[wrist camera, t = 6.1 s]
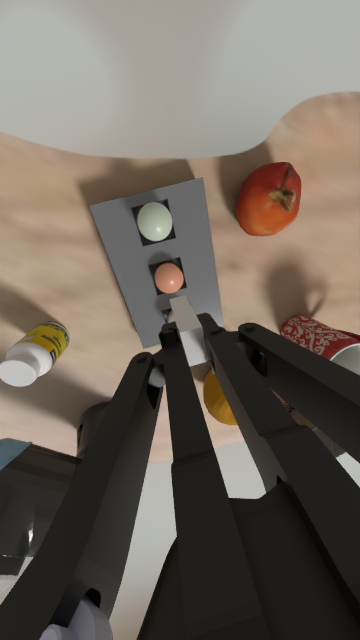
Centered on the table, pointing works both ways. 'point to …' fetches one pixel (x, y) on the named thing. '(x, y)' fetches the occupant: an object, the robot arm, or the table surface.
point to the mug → (324, 341)
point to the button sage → (154, 221)
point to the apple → (217, 400)
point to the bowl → (318, 433)
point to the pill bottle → (34, 354)
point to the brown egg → (168, 277)
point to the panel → (161, 255)
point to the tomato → (269, 199)
